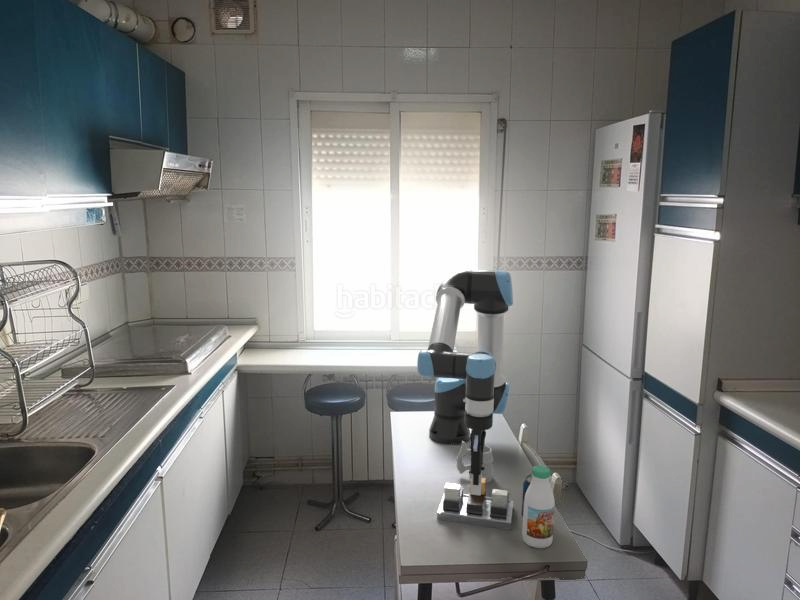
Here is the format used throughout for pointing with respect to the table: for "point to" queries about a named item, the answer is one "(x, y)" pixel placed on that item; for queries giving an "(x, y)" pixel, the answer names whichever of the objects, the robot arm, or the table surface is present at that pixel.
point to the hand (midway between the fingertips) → (475, 493)
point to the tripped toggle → (481, 486)
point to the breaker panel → (476, 520)
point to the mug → (487, 464)
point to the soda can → (525, 489)
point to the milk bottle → (539, 510)
